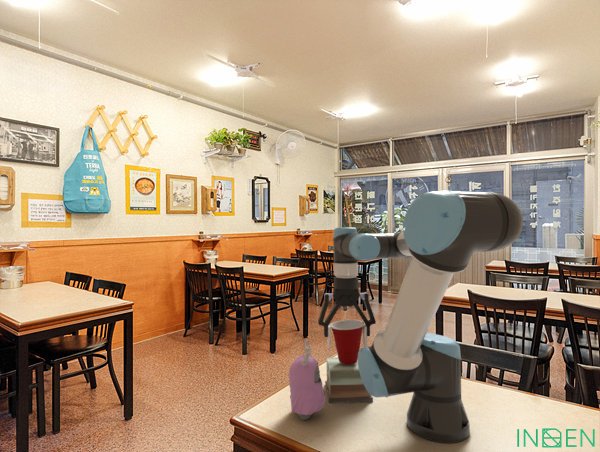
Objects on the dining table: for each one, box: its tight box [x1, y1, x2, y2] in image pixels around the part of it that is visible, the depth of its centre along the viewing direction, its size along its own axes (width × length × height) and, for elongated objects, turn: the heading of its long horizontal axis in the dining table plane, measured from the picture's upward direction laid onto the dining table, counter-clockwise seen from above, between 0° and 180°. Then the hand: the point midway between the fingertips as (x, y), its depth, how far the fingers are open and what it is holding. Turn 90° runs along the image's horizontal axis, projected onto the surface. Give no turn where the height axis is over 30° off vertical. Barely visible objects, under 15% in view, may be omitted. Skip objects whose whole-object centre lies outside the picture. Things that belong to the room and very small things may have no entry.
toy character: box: [288, 339, 327, 421], centre depth 102 cm, size 12×10×20 cm
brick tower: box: [324, 357, 374, 404], centre depth 115 cm, size 13×13×9 cm
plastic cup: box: [329, 319, 365, 364], centre depth 116 cm, size 11×11×12 cm
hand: (347, 346), depth 115 cm, fingers closed on plastic cup, 10 cm apart
